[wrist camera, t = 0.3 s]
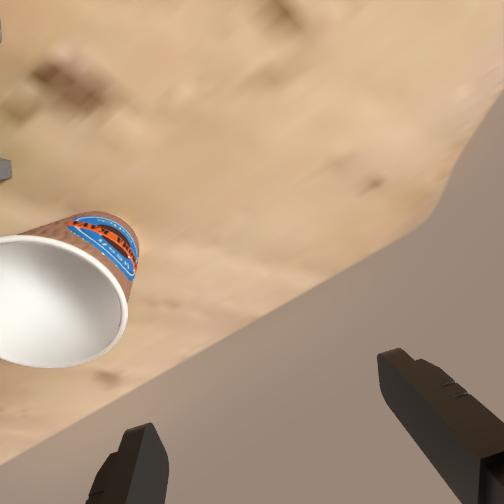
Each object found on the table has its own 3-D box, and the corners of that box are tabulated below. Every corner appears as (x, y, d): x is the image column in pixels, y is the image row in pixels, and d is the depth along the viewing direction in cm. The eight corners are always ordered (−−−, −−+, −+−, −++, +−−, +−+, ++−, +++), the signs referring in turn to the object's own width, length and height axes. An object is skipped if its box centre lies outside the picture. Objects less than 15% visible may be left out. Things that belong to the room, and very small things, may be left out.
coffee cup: (176, 248, 29) (159, 314, 19) (107, 300, 31) (55, 391, 20) (101, 171, 25) (22, 200, 14) (25, 235, 26) (-100, 306, 16)
